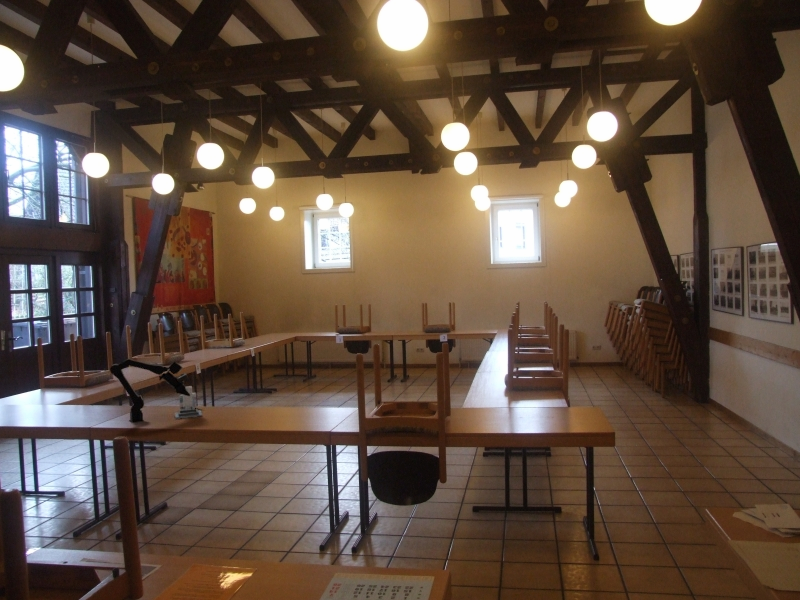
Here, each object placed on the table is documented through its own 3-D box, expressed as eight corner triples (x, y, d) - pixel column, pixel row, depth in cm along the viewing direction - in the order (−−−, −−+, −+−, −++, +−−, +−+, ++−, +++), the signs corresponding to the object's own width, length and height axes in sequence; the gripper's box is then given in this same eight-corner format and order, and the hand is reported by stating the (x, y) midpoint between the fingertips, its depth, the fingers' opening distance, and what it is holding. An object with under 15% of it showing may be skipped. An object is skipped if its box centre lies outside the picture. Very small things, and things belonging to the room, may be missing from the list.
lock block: (183, 406, 373) (182, 388, 373) (183, 405, 378) (182, 386, 378) (192, 405, 375) (192, 387, 375) (192, 404, 381) (191, 386, 380)
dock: (175, 419, 367) (175, 415, 367) (174, 414, 382) (174, 410, 381) (202, 416, 373) (201, 412, 373) (200, 412, 388) (200, 407, 388)
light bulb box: (188, 411, 391) (188, 395, 391) (179, 411, 393) (179, 395, 393) (197, 408, 402) (196, 392, 402) (188, 407, 403) (187, 392, 403)
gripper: (180, 371, 367) (199, 387, 371) (179, 368, 384) (197, 383, 388) (167, 385, 364) (186, 401, 368) (167, 381, 381) (185, 396, 385)
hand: (189, 395), depth 377 cm, fingers closed on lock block, 5 cm apart
